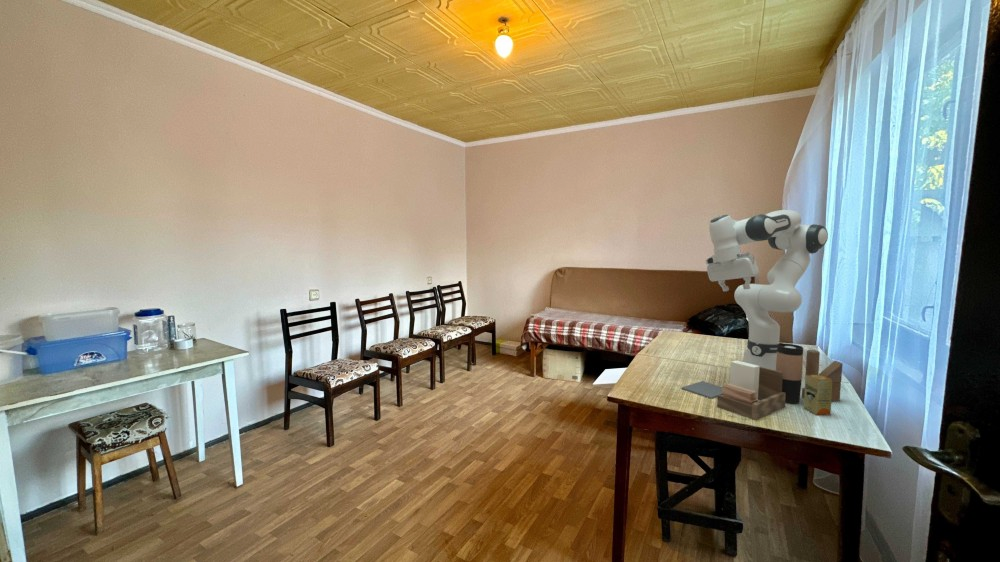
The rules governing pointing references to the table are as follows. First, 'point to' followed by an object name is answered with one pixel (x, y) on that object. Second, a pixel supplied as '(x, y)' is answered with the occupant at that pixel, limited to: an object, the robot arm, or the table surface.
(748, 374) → the white rectangular block
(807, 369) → the wooden block
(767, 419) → the table surface
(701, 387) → the mat
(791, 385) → the travel mug
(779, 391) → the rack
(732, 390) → the offcut stack
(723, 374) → the table surface
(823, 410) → the shoe polish box
